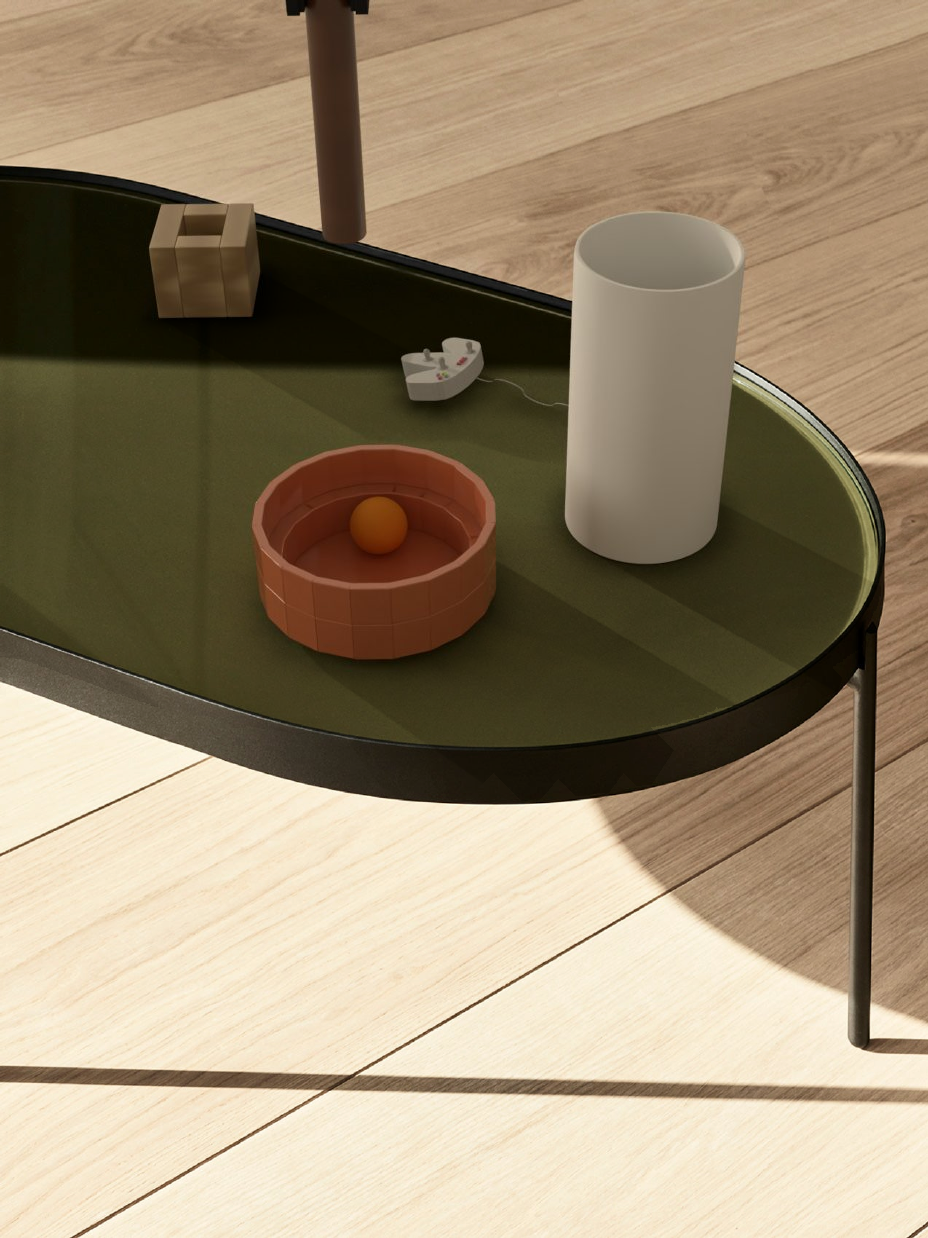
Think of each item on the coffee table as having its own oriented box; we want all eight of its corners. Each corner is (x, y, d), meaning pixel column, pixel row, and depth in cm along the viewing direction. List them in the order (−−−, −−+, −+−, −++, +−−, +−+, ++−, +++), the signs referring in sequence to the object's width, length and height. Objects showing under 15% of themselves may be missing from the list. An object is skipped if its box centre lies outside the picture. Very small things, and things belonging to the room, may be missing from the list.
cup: (746, 511, 91) (778, 243, 81) (659, 584, 86) (681, 310, 76) (624, 456, 95) (640, 195, 85) (534, 523, 91) (539, 255, 80)
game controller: (408, 356, 104) (407, 318, 102) (594, 371, 103) (596, 333, 101) (391, 405, 100) (389, 367, 98) (584, 422, 98) (586, 383, 97)
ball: (350, 566, 87) (346, 520, 85) (352, 531, 89) (349, 485, 87) (408, 565, 87) (406, 519, 85) (409, 530, 89) (407, 484, 87)
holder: (159, 318, 108) (148, 247, 105) (170, 272, 112) (161, 203, 109) (252, 317, 108) (245, 246, 105) (260, 271, 112) (253, 202, 109)
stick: (318, 244, 75) (289, -131, 65) (326, 222, 77) (298, -147, 66) (363, 245, 75) (340, -130, 65) (369, 224, 77) (348, -146, 66)
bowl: (251, 670, 82) (241, 590, 79) (271, 522, 91) (263, 445, 88) (498, 667, 82) (498, 587, 79) (493, 519, 91) (493, 442, 88)
